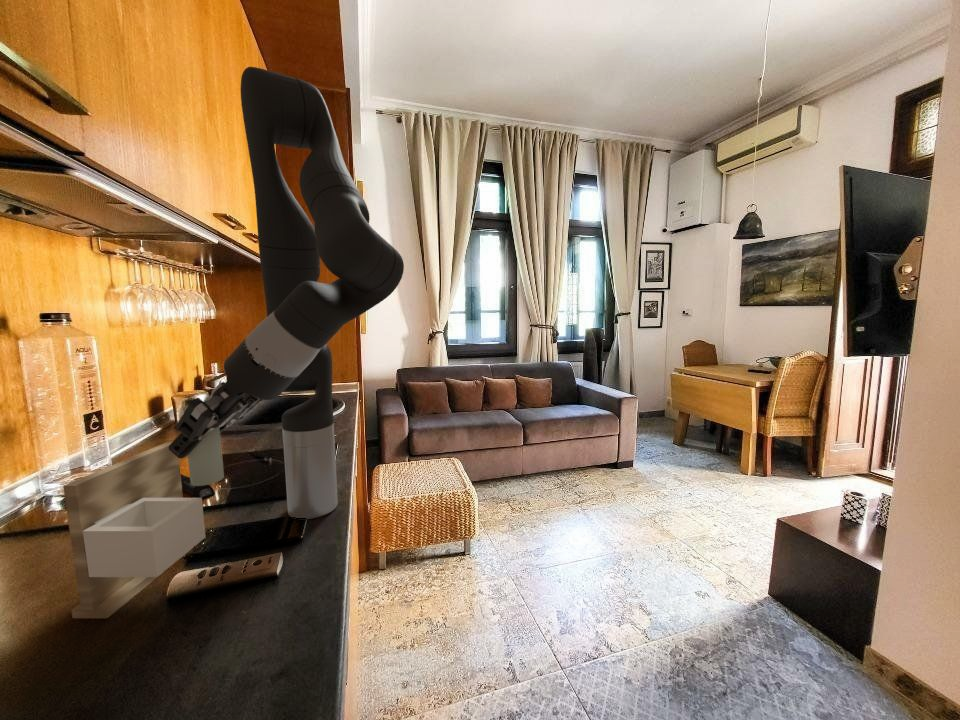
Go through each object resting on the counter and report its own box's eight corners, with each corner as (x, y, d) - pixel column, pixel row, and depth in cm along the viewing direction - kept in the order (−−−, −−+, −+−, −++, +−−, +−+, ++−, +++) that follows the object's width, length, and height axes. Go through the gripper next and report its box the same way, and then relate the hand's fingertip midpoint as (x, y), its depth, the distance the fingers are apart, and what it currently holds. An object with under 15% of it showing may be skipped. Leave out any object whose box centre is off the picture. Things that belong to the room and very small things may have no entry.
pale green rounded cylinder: (203, 473, 52) (196, 402, 51) (230, 473, 52) (223, 402, 51) (183, 485, 49) (175, 409, 47) (212, 485, 49) (204, 409, 47)
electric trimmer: (183, 480, 91) (181, 468, 90) (216, 495, 83) (215, 481, 82) (163, 487, 87) (162, 473, 87) (197, 503, 80) (195, 488, 79)
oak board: (171, 543, 65) (160, 441, 63) (198, 543, 65) (187, 441, 63) (72, 618, 50) (53, 485, 47) (107, 618, 50) (89, 485, 47)
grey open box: (142, 537, 57) (138, 497, 56) (205, 537, 57) (201, 497, 56) (83, 577, 48) (77, 531, 48) (157, 577, 48) (151, 531, 48)
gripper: (281, 330, 55) (204, 412, 57) (214, 337, 41) (114, 447, 43) (320, 366, 56) (243, 447, 57) (268, 386, 42) (167, 492, 43)
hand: (188, 446), depth 50 cm, fingers closed on pale green rounded cylinder, 3 cm apart
